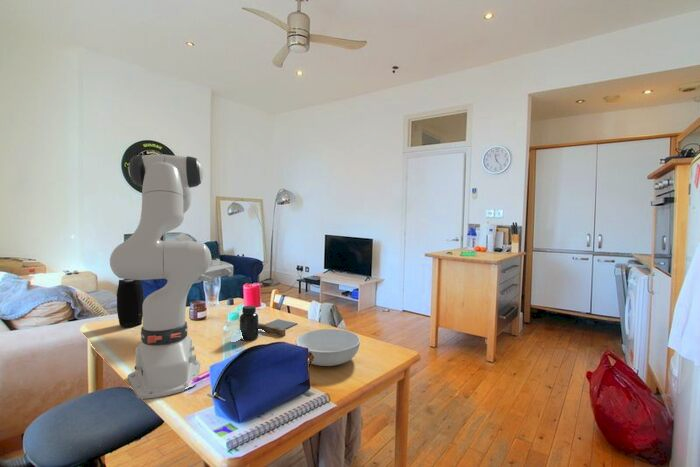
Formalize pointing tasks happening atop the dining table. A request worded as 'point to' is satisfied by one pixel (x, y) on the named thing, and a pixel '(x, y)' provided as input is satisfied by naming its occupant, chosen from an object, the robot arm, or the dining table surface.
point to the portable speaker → (130, 302)
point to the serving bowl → (330, 346)
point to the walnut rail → (272, 329)
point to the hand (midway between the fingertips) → (222, 276)
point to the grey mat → (281, 324)
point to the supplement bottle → (249, 323)
